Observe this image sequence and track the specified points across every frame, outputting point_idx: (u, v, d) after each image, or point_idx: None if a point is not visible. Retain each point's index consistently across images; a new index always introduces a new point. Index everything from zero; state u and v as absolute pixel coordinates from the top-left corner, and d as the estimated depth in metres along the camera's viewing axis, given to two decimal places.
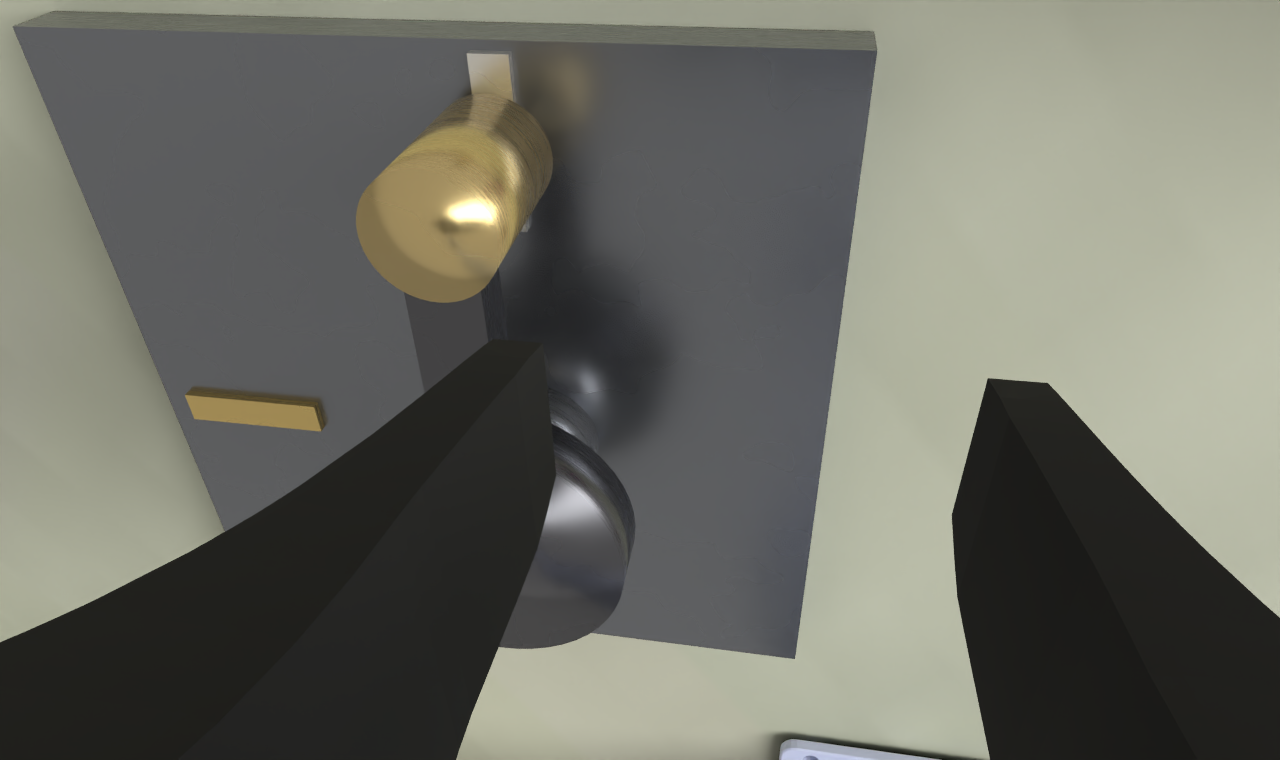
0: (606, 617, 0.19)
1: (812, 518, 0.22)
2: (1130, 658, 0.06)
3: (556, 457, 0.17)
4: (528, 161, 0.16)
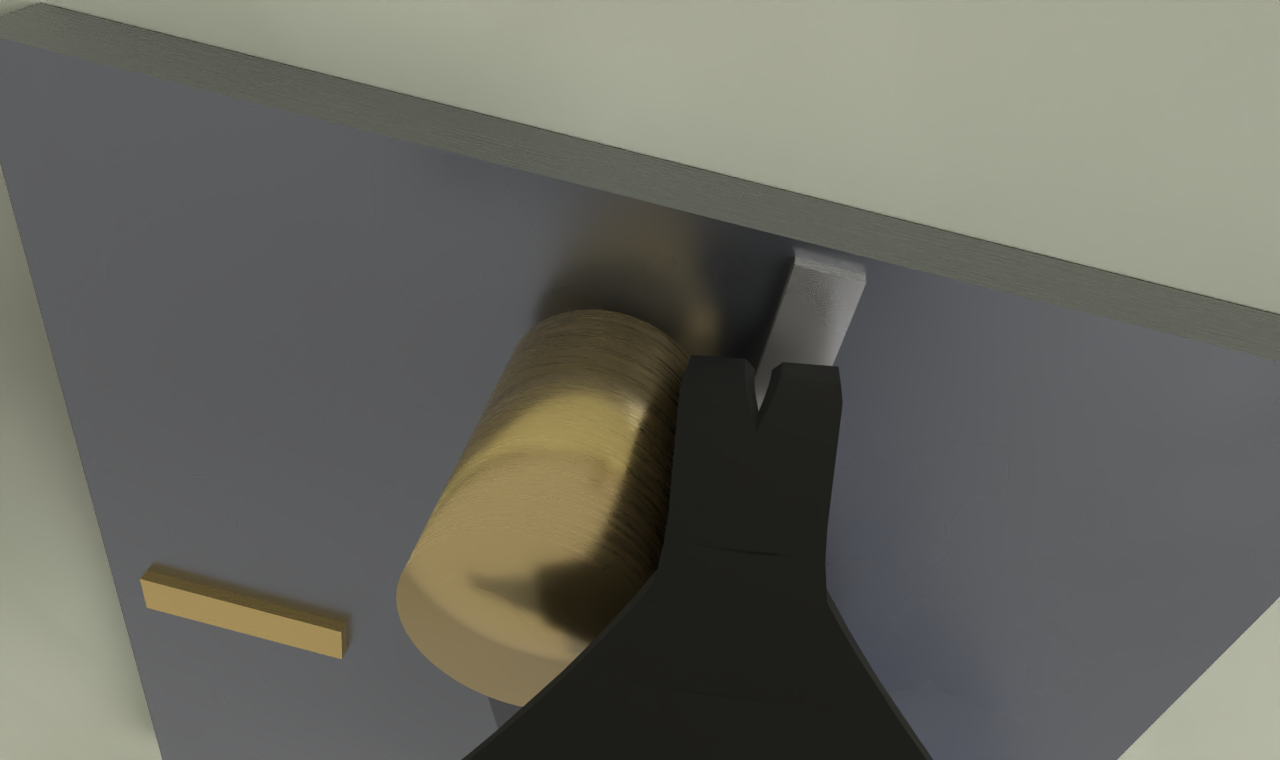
0: None
1: None
2: (651, 599, 0.06)
3: None
4: None
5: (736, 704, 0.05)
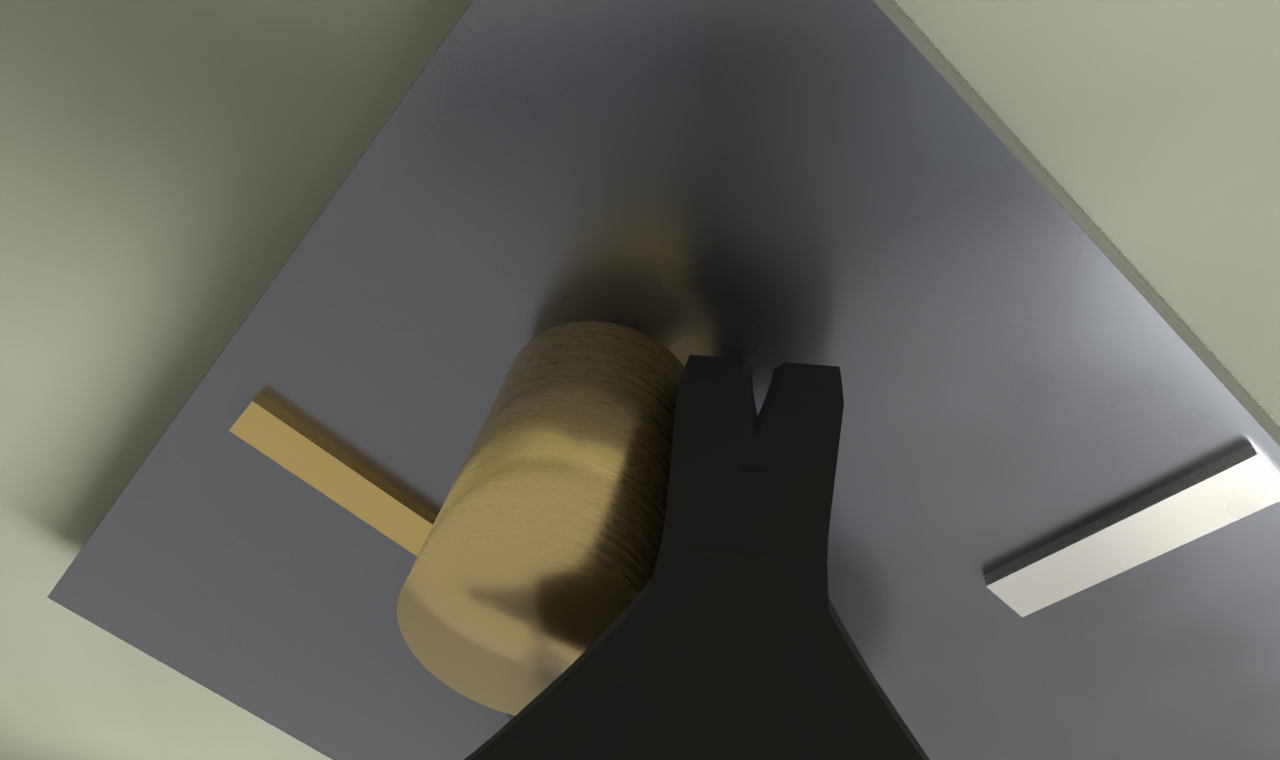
0: None
1: None
2: (648, 601, 0.06)
3: None
4: (670, 435, 0.09)
5: (732, 704, 0.05)
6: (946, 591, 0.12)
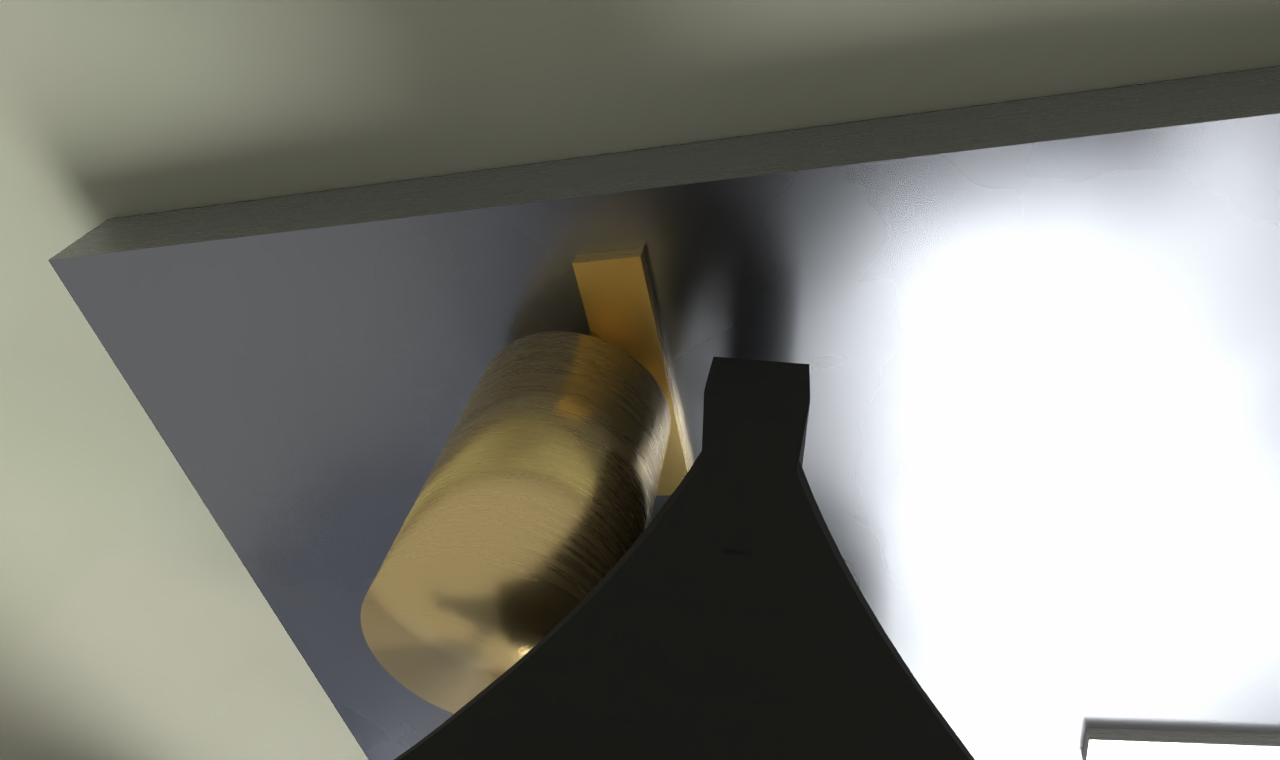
0: None
1: None
2: (686, 605, 0.06)
3: None
4: (631, 439, 0.09)
5: (779, 710, 0.05)
6: (1046, 724, 0.14)
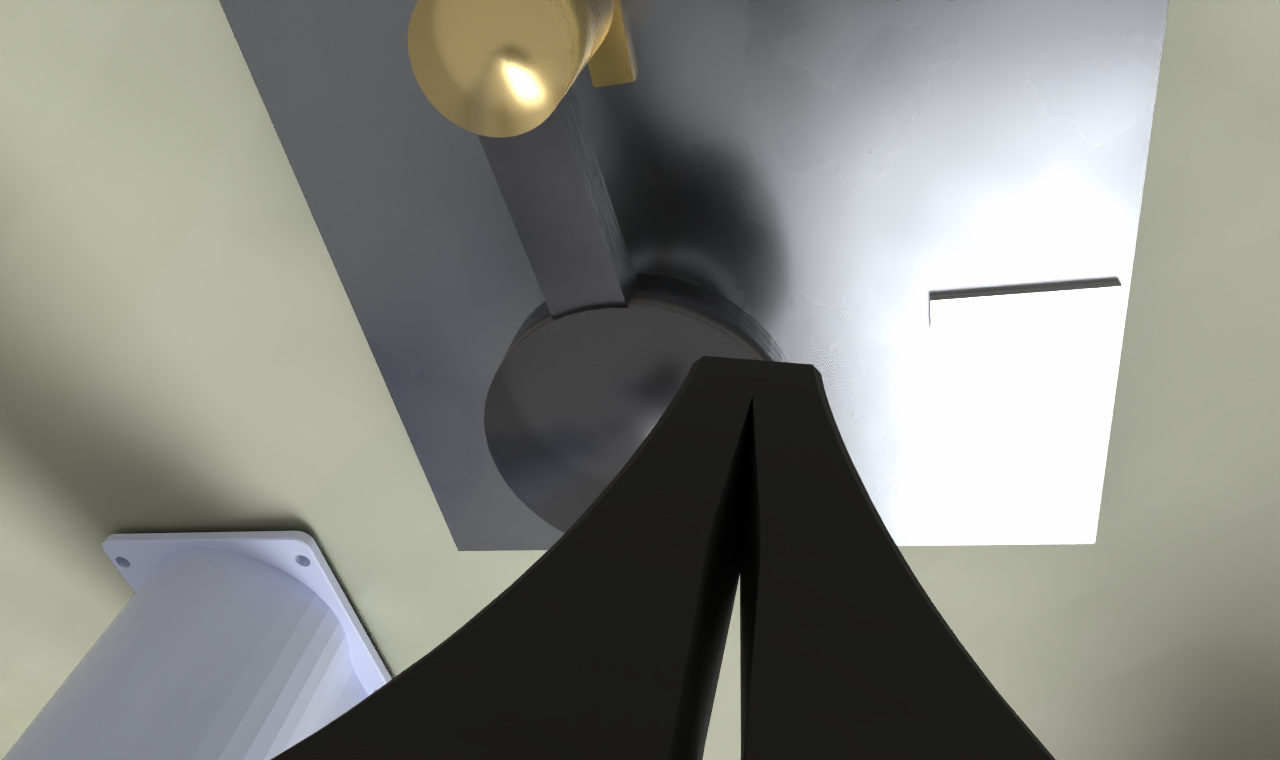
0: None
1: None
2: (755, 614, 0.06)
3: (687, 306, 0.15)
4: None
5: (865, 722, 0.05)
6: (900, 296, 0.19)
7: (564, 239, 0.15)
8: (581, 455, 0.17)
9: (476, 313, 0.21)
